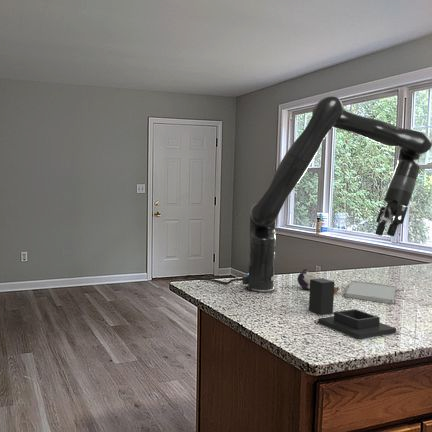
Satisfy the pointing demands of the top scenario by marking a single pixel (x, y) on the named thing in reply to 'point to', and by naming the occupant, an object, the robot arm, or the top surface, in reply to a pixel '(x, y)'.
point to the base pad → (357, 324)
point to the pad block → (321, 296)
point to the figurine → (305, 280)
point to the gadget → (371, 291)
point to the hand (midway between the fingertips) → (384, 235)
